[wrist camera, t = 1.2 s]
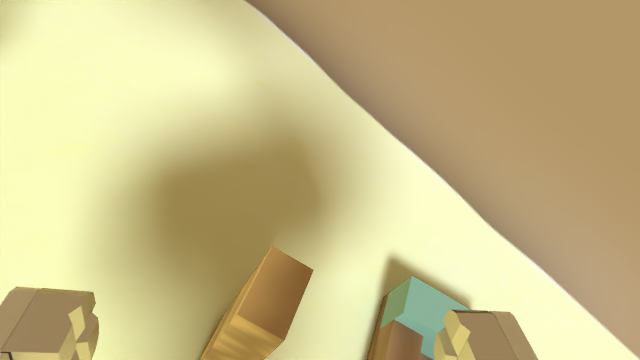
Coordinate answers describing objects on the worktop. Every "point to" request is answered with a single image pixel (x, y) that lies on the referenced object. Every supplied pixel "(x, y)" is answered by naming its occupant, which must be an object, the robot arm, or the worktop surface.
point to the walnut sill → (410, 322)
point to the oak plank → (261, 310)
